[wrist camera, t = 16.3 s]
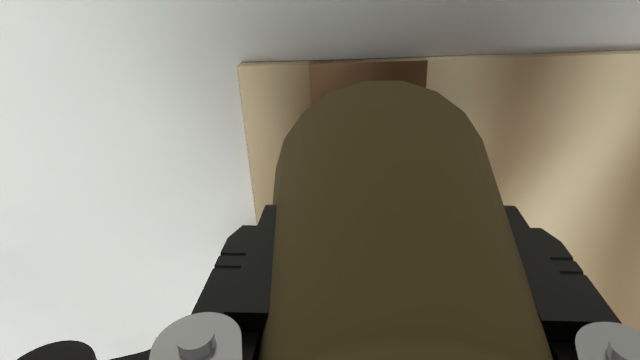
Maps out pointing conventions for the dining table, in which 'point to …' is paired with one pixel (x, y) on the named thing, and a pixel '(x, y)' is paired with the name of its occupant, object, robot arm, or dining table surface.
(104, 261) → the dining table surface
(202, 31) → the dining table surface
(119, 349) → the dining table surface
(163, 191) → the dining table surface
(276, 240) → the cork
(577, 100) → the board
